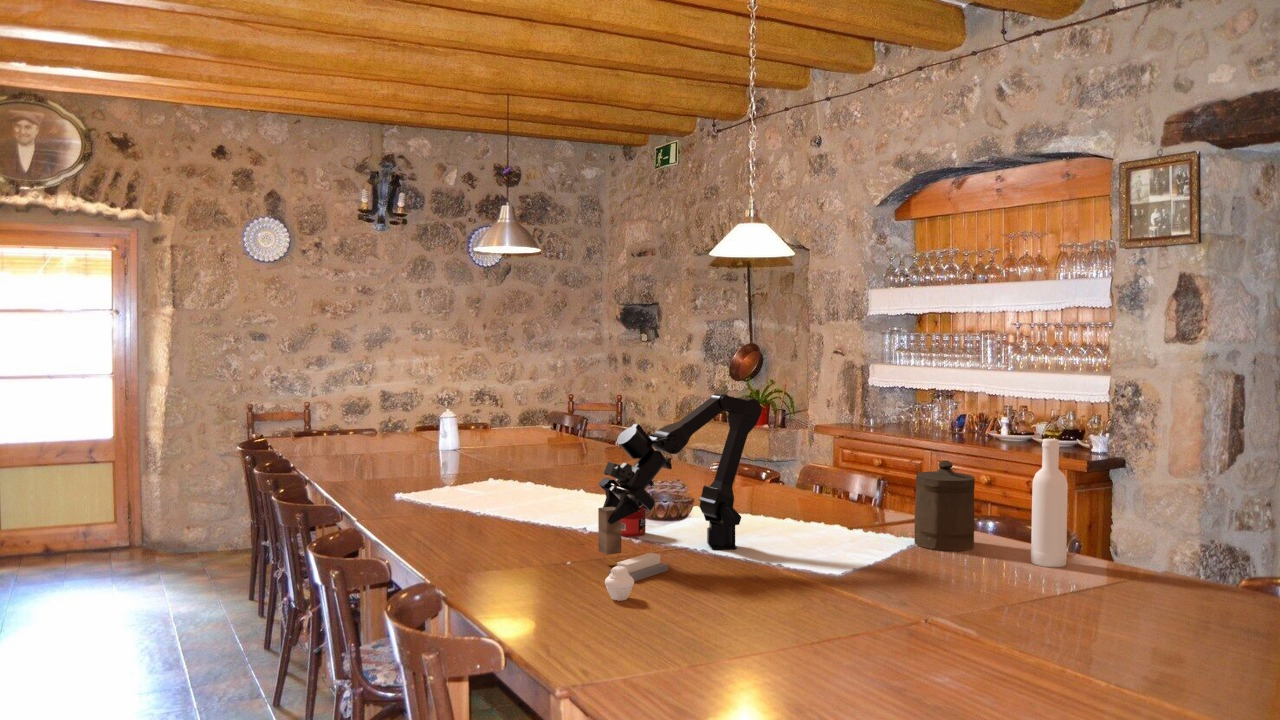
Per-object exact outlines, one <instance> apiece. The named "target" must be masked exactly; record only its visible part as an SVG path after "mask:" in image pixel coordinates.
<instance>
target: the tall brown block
mask: <svg viewBox="0 0 1280 720" xmlns="http://www.w3.org/2000/svg"><path fill="white" fill-rule="evenodd" d="M615 508H616V507H614V506H611V507H603V506H602V507H599V508H598V509H597V510H598V515H597V516H598V517H597V518H598V523H597V524H598V552H600V553H601V554H603V555H606V556H608V555H615V554H622V536H621V520H619V521H617V522H615V523H613V524H610V523H609V522H608V520H609V518H610V516H611V515H612V513H613V511H614V510H615Z"/></svg>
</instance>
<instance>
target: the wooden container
mask: <svg viewBox="0 0 1280 720" xmlns="http://www.w3.org/2000/svg"><path fill="white" fill-rule="evenodd" d="M938 467H939V468H938V470H937V471H934V470H933V471H932V470H931V471H920V472H918V473H917V472H916V477H915V482H916V483H915V484H916V485H915V499H914V500H915V501H914V502H915V503H914V544H916V546H919V547H921V548H923V549H929V550H935V551H941V552H942V551H945V552H964V551H969V550H972V549H973V548H974V547H975V486H976V484H975V483H976V481H975V480H976V479H975V476H973V475H971V474H968V473H962V472H956V471H953V470H952V468H953V463H952V462H950V460H947V459H946V460H941V461H939V463H938Z"/></svg>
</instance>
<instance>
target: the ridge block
mask: <svg viewBox="0 0 1280 720" xmlns="http://www.w3.org/2000/svg"><path fill="white" fill-rule="evenodd" d="M616 566H623V567H625V568H627V570H628V573H629V575H630V576H631V577H632V578H633V579H634V583H635V582H638V581H641V580H644V579H647V578H649V577H653V576H656V575H659V574H662V573H665V572H668V571H669V564H668V563H664V562H661V554H658V553H654V552H647V553H644V554H642V555H637V556H635V557H632V558H628V559H625V560H622V561H617V562H616ZM611 570H612V569H609V570H608V575H609V574H611Z"/></svg>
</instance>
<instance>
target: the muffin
mask: <svg viewBox="0 0 1280 720" xmlns="http://www.w3.org/2000/svg"><path fill="white" fill-rule="evenodd" d="M610 570H611V574H609V573H608V576H607V577H606V578H605V580H604V585H605V586H606V590H607V592H608V594H609V597H610V598H611V600H613V601H616V600H617V601H616V602H619V601H627V600H628V598H629V595H630V594H631V592H632V589H633V586H634V584H635V582H634V579H633V578H632V577H631V576H630V575H629V573H628V570H627V568H625V567H623V566H617V565H615V566H614V567H612V569H610Z"/></svg>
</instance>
